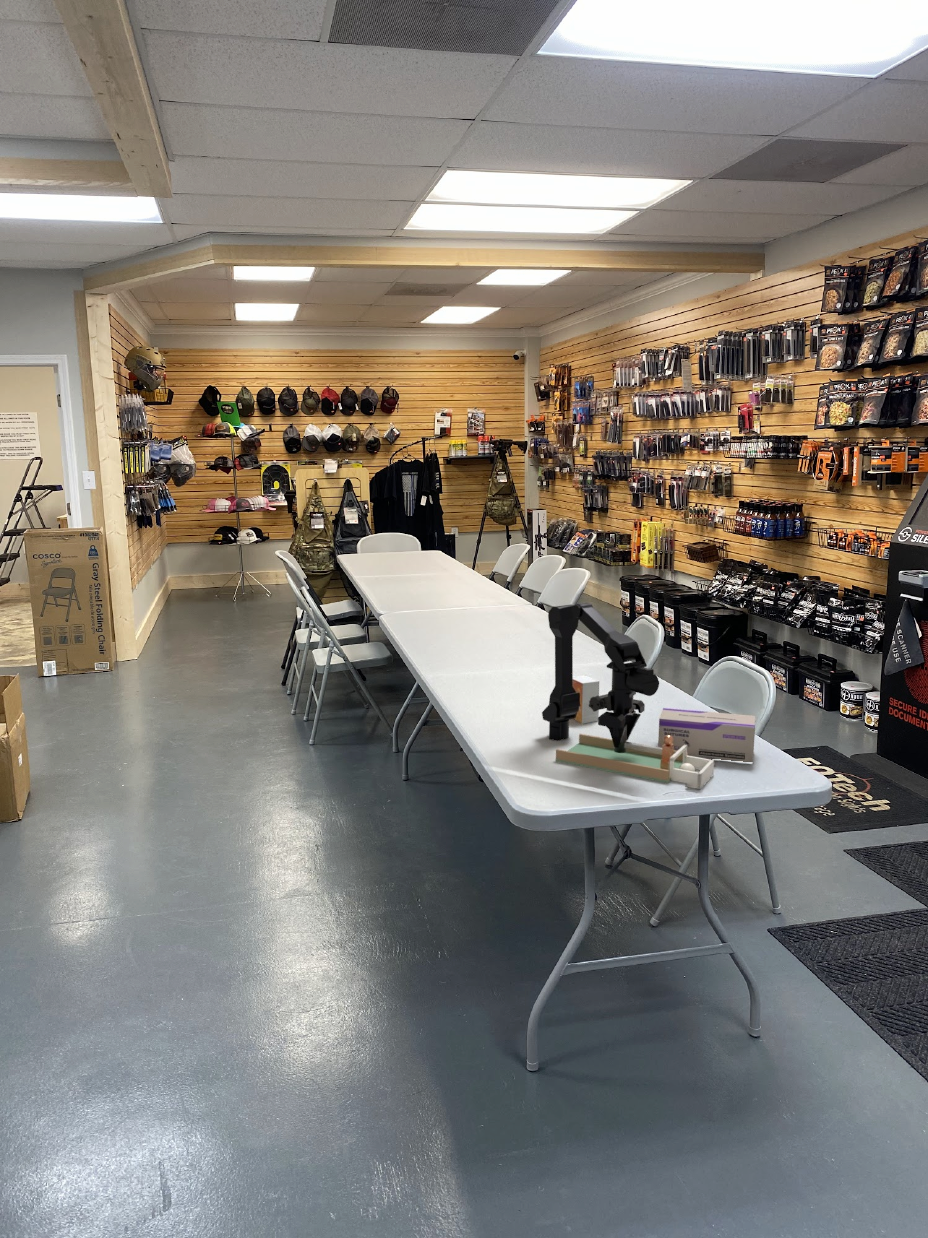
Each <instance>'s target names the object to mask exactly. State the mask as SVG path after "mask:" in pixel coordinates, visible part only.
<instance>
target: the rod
mask: <svg viewBox="0 0 928 1238" xmlns="http://www.w3.org/2000/svg"><path fill="white" fill-rule="evenodd" d="M663 742H664V743H665V744H664V745H663V746H662V748H660V747H658V746H653V745H647V744H642V743H636V742H633V741H628V740H627V727H626V730H625V732H624V735H623V737H622V740H621V743H620V745H619V747H618V748H616V747H614V752H616V753H625V752H626V748H627V749H632V750H638V751H643V752H649V753H654V754H660V755H662V760H661V763H660V769H665V770H669V769H670V757H671V756H672V755H673V750H674V744H672V743H673V737H672V736H670V735H666V736H665V737H664V738H663Z"/></svg>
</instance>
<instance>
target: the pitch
mask: <svg viewBox="0 0 928 1238" xmlns="http://www.w3.org/2000/svg"><path fill="white" fill-rule="evenodd" d="M676 752H677V751H676V750H673V755H674V754H675V753H676ZM687 755H688V753H687ZM688 756H689V755H688ZM661 760H662V755H660V754H654V753H649V752H643V751H638V750H632V749H627V748H626V752H625V753H616V752H614V744H613V741H612V738H607V737H600V736H596V735H595V736H594V735H590V734H584V733H579V735H578V743H577V744H576V745H574V746H572V747H571V748H570V749H568V750H562V749H558V748H557V749H556V750H555V761H556V762H560V763H565V764H570V765H574V766H581V767H585V768H590V769H595V770H600V771H606V772H611V773H616V774H621V775H626V776H631V777H636V778H641V779H647V780H651V781H652V780H653V781H656V782H661V783H667V784H669V783H670V782H671V781H672V780H671V778H669V775H670V770H665V769H660V763H661ZM682 764H683V752H682V753H681V754H680V755H679V756H678V757H677V758H676V759H675V760H674V768H677V769H679V768H680V766H681V765H682Z"/></svg>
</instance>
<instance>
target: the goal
mask: <svg viewBox="0 0 928 1238" xmlns="http://www.w3.org/2000/svg"><path fill="white" fill-rule="evenodd" d="M682 752H683V764H684V763H690V764H692V765H693V766H694V768H695V770H698V771H695V772H693V771H688V770H682V769H677V768H674V760H675V759H676V758H677V757H678V756H679V755H680V754H681V753H682ZM714 769H715V761H714V760H711V758H710V759H709V758H705V757H700V756H694V755H687V745H683V746H682V747H681V748H680V749H679V750H678V751H677V752H676V753H675V754H674V755H672V756H671V757H670V769H669V770H670V775H669V778H671V781H674V782H679V783H685V784H686V785H685V786H684V787H686V788H692V789H695V788H697V790H701V789H702V788H703V787H704V786H705V785H706V784H707V783H708V781H709V780H711V778H712V777H713V776H714V772H715V771H714ZM698 772H699V773H698ZM712 775H713V776H712ZM711 776H712V777H711ZM710 777H711V778H710ZM706 782H707V783H706ZM705 783H706V784H705ZM704 784H705V785H704ZM703 785H704V786H703Z"/></svg>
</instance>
